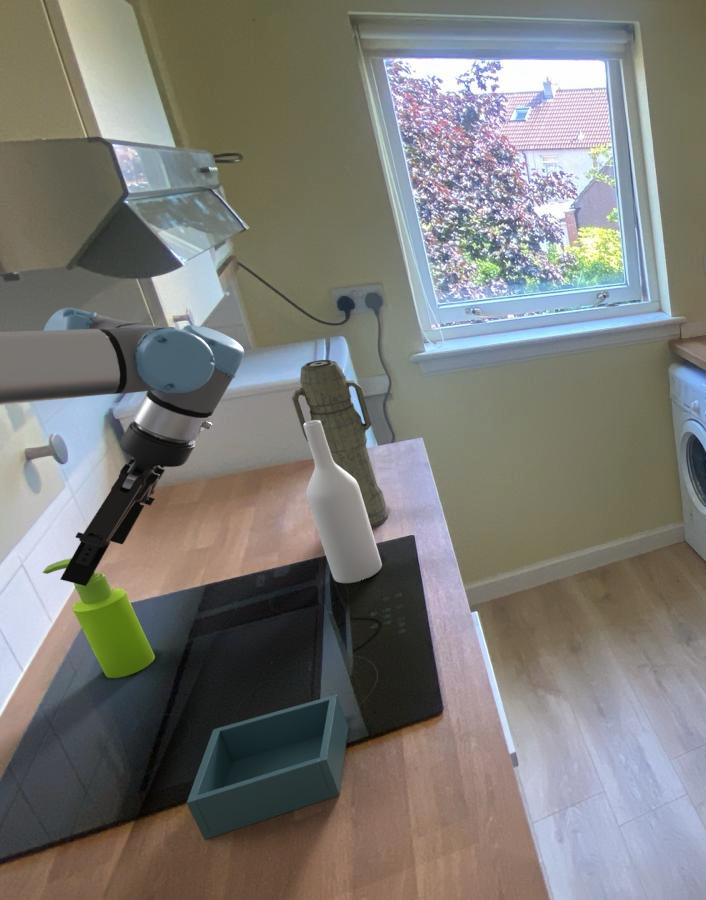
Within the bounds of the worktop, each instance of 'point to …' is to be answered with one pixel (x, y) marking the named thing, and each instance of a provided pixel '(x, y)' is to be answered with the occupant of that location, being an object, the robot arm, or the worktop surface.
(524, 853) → the worktop surface
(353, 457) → the olive amphora vase
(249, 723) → the tub
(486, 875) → the worktop surface
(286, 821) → the worktop surface
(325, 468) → the bottle
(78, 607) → the soap dispenser
